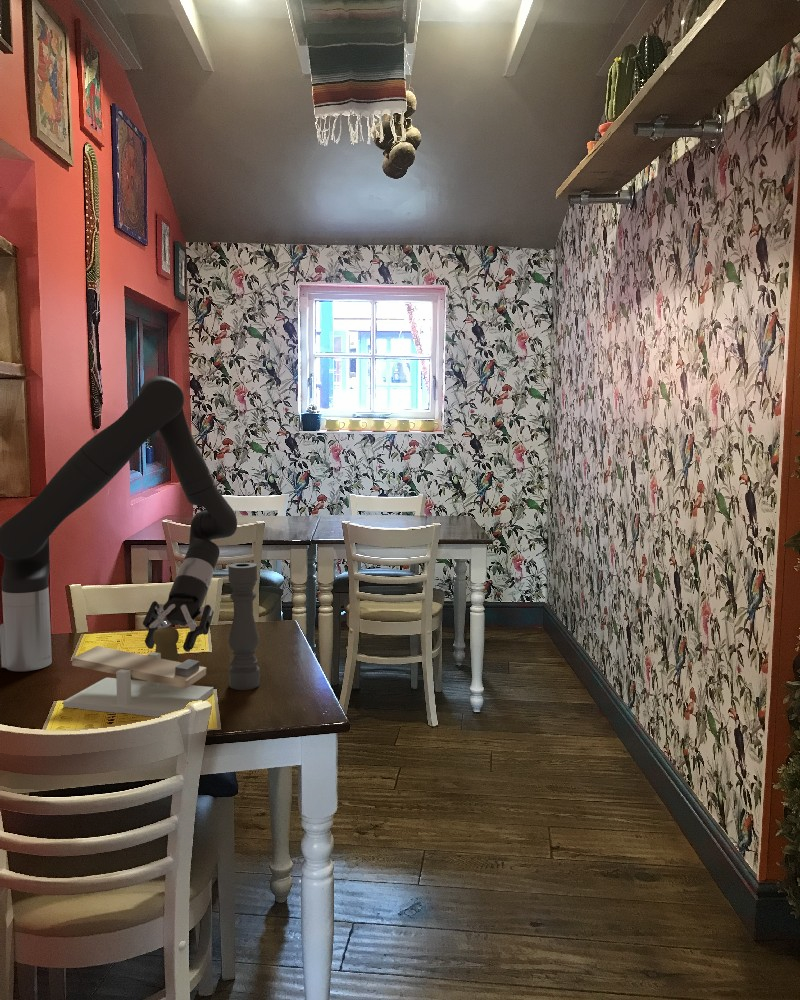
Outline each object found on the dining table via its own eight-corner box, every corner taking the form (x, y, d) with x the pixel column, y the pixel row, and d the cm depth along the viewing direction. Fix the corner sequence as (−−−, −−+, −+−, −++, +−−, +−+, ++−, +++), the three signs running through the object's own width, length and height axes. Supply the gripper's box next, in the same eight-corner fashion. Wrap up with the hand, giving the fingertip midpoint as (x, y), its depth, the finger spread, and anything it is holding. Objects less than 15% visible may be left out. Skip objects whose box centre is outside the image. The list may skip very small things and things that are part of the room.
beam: (71, 669, 153) (72, 649, 152) (96, 657, 160) (97, 638, 160) (185, 692, 148) (187, 672, 147) (205, 678, 155) (207, 659, 155)
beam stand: (63, 707, 151) (61, 668, 150) (106, 683, 164) (105, 647, 163) (178, 719, 145) (177, 678, 144) (213, 693, 159) (212, 656, 158)
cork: (173, 685, 163) (172, 633, 162) (146, 683, 164) (145, 631, 163) (187, 676, 169) (185, 625, 168) (160, 673, 170) (159, 623, 169)
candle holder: (230, 691, 160) (227, 568, 157) (228, 681, 166) (226, 563, 163) (261, 688, 162) (259, 567, 159) (258, 678, 167) (256, 561, 165)
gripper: (156, 572, 175) (129, 637, 165) (216, 575, 171) (192, 642, 162) (169, 590, 180) (143, 654, 171) (227, 594, 177) (204, 659, 167)
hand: (167, 648), depth 166 cm, fingers open, 8 cm apart
